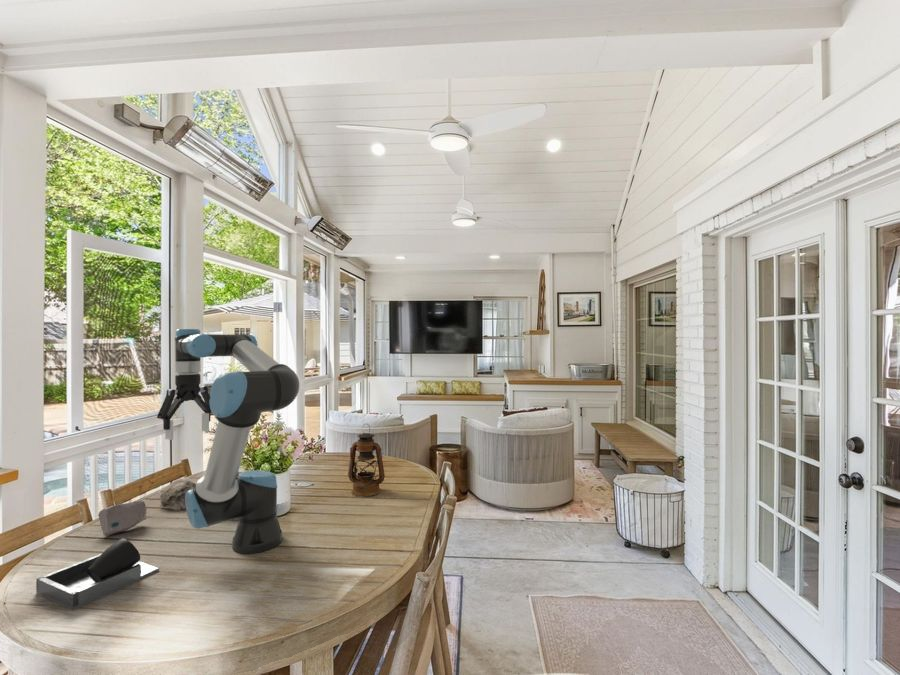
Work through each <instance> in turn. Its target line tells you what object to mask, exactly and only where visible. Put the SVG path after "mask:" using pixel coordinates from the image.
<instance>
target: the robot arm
mask: <svg viewBox="0 0 900 675" xmlns="http://www.w3.org/2000/svg"><path fill="white" fill-rule="evenodd" d="M174 342H175V343H174V346H175V347H174V348H175V349H174V350H175V353H174V355H175V358H174V359H175V362H174V363H175V365H174V368H175V370H174V371H175V374H176V375H175V377H174V379H175V380H174V381H175V382H174V384H175V386H176V388H175V389H171V388H168V389H167V390H166V396H165V398H164V400H163V403H162V404H161V406H160V409H159V411H158V413H157V415H156V418H157V419H160V420H163V427H162V428H163V430H164V432H165V433H164V434H165V438H164V439H165V440H167V441H168V440H170V441H172V440H174V419H172V418H173V416H174V415H175V413H176V412H177V411H178V410H179V408H180V406H181V405H182V404H183V403H184V402H188V401H194V402H195V403H196V404H197V405H198V407H199V408H200V409H201V410H202V413H201V432H203V433H204V432H205V433H208V432H210V422H211V414H212V415H213V416H214V417H215V419H216V421H217V422H218V423H217V427H216V429H215V434H214V438H213V440H212V441H213V442H212V445H211V449H210V454H209V458H208V461H207V465H206V468H205V473H204V475H203V476H202V477H200V478H199V479H198V480H197V482H196V488H195V489H191V490H188V491H187V492H186V494H185V505H186V509H185V510H186V514H187V519H188V521H189V524H190V525H191V527H193V528H194V529H196V530H197V529H203V528H208V527H211V526H215V525H218V524H222V523H224V522H227V521H231V520H234V519H238V520H237V521H238V522H237V525H236V528H235V532H234V536H233V537H232V541H231V543H232V544H231V545H232V546H231V547H232V550H233V551H234V552H236V553H239V554H247V555H248V554H257V553H258V554H259V553H262V552H266V551H268V550H271V549H274V548H276V547H278V546H279V545H280V544H281V543H282V541H283V531H282V529H281V525H280V522H279V520H278V516H277V512H278V511H277V509H278V508H277V506H278V504H277V500H278V499H277V498H278V494H277V493H278V482H277V476H276V475H275V473H273V472H271V471H268V470H258V469H256V470H245V471H241V472H242V473H239V475H238V479H237V480H236V477H237V474H238V472H239V469H240V466H241V463H242V460H243V456H244V452H245V449H246V446H247V442H248V439H249V435H250V432H251V429H252V427H254V426H255V425H257V423H258V422H259V421H260V418H261V416H262V413H266V412H273V411H274V412H275V411H276V412H277V411H279V410H282V409H285V408H286V407H288V406H290V405H291V404H293V402H294V401H295V399H296V398H297V396H298V394H299V391H300V381H299V380H300V379H299V377H298V375H297V373H296V372H295V370H293V369H292V368H291V367H289V366H288V365H286V364H283V363H279V362H277V361H276V360H275V359H274V358H273V357H271V356H270V355H269V354H267V353H266V352H265V351H264V350H262V349H261V348H260V347H258V340H257V338H256V336H254V335H252V334H247V333H241V334H238V333H237V334H235V333H233V334H224V333H223V334H217V333H215V334H213V333H211V334H210V333H209V334H206V333H201V331H200V329H198V328H178V329H177V328H176V331H175V337H174ZM206 357H207V358H210V357H211V358H212V357H233V358H234V359H236V360H237V362H239V363H240V364H241V365H242V366H243V367H244V368H245V369H247V371H241V370H237V371H236V370H235V371H232V372H224V373H221V374H219V375H218V376H217V377H216V378H215V379H214V381H213V382H212V384H211V388H210V391H209V386H208V385H200V384H201V374H200V373H201V368H202V367H201V366H202V365H201V358H206ZM199 393H200V394H201V395H200V394H199Z"/></svg>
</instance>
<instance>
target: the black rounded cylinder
mask: <svg viewBox="0 0 900 675" xmlns="http://www.w3.org/2000/svg"><path fill="white" fill-rule="evenodd" d="M100 554H101V555H100V556H99V557H98V558H97V559H96V561H95V562H94V563H93V564H92V565H91V566H90V567H89V568H88V570H87V572H88V574H89V576H90V577H91V579H92V580H93V581H94V582H98V581H100V580H102V579H105V578H107V577H109V576H111V575H114V574H116V573H118V572H121V571H123V570H125V569H128V568H130V567H132V566H134V565H135V564H136V563H137V562H138V561H140V560H141V554H140V552H139V550H138V549H137V548H136V546H135V545H134V544H133V542H131V541H130V540H128V539H126V538H123V537H121V538H120V539H118V540H116V541H115V542H114V543H113V544H112V545H110V546H108V547H107V548H106V549H105V550H104V551H103V552H102V553H100Z"/></svg>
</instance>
